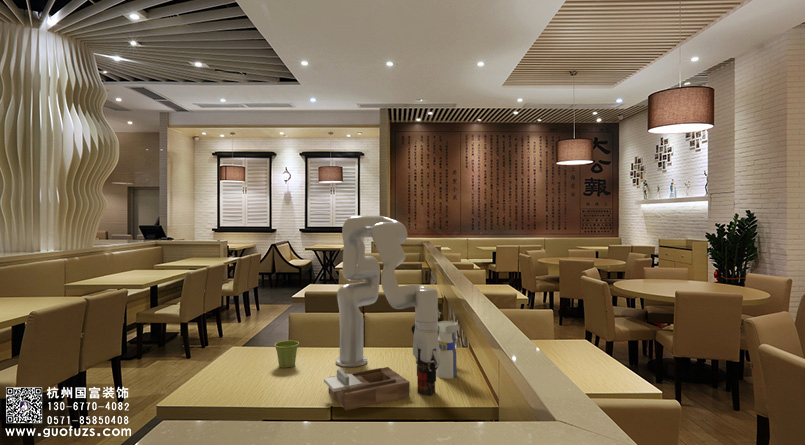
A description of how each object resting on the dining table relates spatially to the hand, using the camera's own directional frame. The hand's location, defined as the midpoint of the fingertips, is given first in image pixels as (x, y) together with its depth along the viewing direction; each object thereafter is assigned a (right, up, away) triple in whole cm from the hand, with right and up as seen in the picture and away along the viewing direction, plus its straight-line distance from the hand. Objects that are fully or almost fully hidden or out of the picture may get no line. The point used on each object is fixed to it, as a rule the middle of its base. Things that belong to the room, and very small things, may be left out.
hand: (426, 378), depth 148 cm
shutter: (-27, +1, -6) cm, 28 cm away
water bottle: (+9, -5, +16) cm, 19 cm away
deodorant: (0, -5, 0) cm, 5 cm away
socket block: (-19, -5, -2) cm, 20 cm away
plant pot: (-53, -4, +26) cm, 60 cm away
